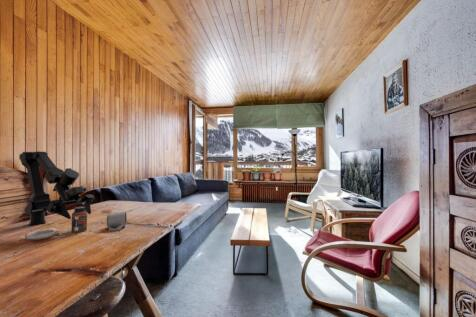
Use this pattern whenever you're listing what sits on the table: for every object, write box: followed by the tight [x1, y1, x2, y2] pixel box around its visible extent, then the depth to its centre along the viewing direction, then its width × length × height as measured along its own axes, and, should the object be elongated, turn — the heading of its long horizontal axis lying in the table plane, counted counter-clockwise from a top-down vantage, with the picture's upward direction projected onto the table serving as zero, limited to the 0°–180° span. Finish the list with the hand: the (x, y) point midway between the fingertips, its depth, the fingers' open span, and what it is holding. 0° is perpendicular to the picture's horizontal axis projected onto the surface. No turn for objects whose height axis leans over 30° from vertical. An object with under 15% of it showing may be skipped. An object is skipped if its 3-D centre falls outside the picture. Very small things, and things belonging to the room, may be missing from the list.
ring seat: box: [24, 228, 60, 241], centre depth 95 cm, size 11×11×2 cm
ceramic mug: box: [106, 211, 128, 232], centre depth 106 cm, size 11×8×8 cm
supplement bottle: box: [71, 206, 88, 234], centre depth 101 cm, size 6×6×11 cm
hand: (80, 215), depth 101 cm, fingers open, 9 cm apart
